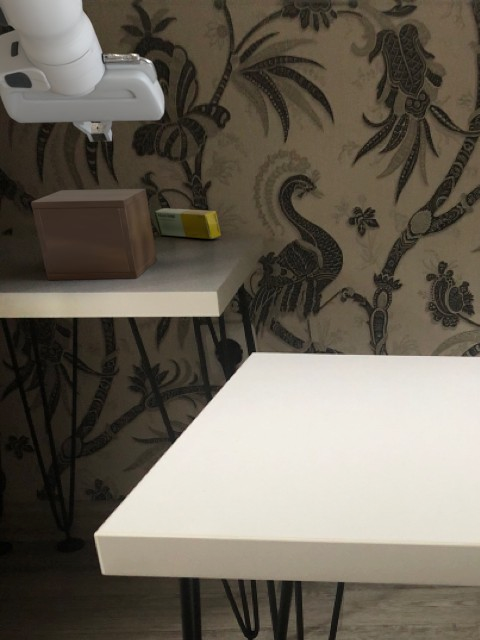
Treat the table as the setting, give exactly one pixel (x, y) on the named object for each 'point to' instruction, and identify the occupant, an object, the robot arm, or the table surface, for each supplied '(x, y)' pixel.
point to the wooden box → (95, 234)
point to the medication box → (188, 223)
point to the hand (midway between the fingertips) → (101, 137)
